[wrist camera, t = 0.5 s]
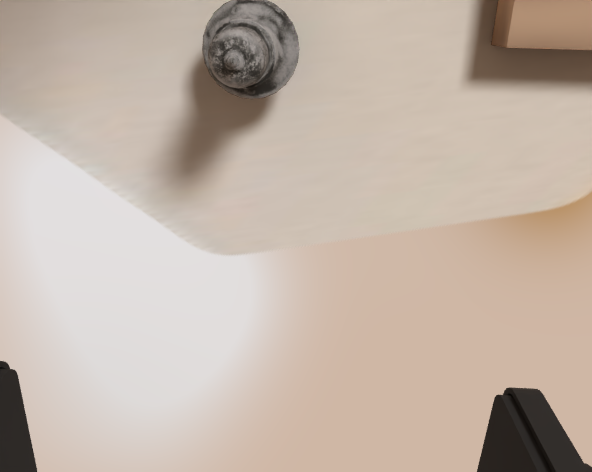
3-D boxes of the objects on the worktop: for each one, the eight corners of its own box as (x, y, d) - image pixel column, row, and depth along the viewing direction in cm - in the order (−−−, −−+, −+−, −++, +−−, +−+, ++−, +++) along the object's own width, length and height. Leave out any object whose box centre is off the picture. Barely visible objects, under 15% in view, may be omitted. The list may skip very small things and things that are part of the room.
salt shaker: (254, -24, 34) (226, -40, 23) (318, 45, 35) (321, 62, 24) (194, 46, 36) (141, 62, 25) (258, 109, 37) (235, 150, 26)
